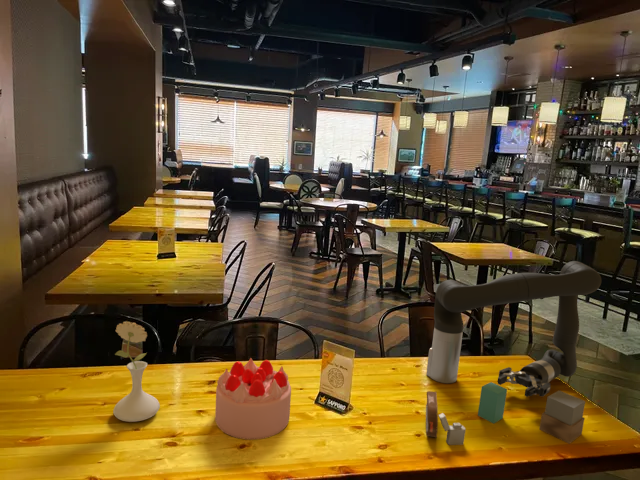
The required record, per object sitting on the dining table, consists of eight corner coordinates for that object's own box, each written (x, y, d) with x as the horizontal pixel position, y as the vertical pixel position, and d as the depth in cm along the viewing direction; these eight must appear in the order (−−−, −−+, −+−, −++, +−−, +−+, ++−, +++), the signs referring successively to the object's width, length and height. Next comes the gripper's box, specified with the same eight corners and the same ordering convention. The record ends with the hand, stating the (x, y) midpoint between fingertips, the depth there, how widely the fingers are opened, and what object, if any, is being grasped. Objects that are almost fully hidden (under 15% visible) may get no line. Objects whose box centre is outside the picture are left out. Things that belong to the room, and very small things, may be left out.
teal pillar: (477, 415, 134) (481, 386, 132) (487, 410, 137) (490, 382, 135) (493, 423, 130) (498, 393, 128) (502, 418, 133) (507, 389, 132)
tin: (436, 444, 118) (440, 413, 117) (424, 441, 119) (427, 411, 117) (434, 413, 133) (438, 386, 131) (423, 412, 133) (426, 384, 132)
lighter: (460, 440, 121) (464, 412, 119) (463, 444, 119) (467, 416, 117) (434, 440, 120) (438, 412, 118) (437, 445, 118) (441, 416, 116)
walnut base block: (539, 430, 129) (542, 413, 128) (552, 421, 134) (554, 405, 133) (569, 444, 123) (572, 427, 122) (581, 434, 128) (584, 418, 127)
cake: (217, 444, 112) (219, 390, 109) (213, 402, 131) (214, 354, 128) (296, 436, 117) (299, 384, 115) (281, 397, 136) (284, 351, 134)
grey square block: (544, 413, 128) (547, 396, 127) (556, 406, 132) (559, 390, 131) (571, 425, 122) (574, 408, 122) (582, 418, 127) (585, 401, 126)
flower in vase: (168, 410, 125) (170, 322, 121) (136, 431, 115) (136, 335, 110) (133, 397, 130) (133, 312, 126) (98, 416, 120) (97, 324, 116)
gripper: (517, 355, 154) (492, 366, 144) (561, 371, 144) (537, 385, 133) (514, 376, 156) (489, 389, 145) (558, 394, 145) (533, 409, 135)
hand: (512, 387), depth 139 cm, fingers open, 8 cm apart
